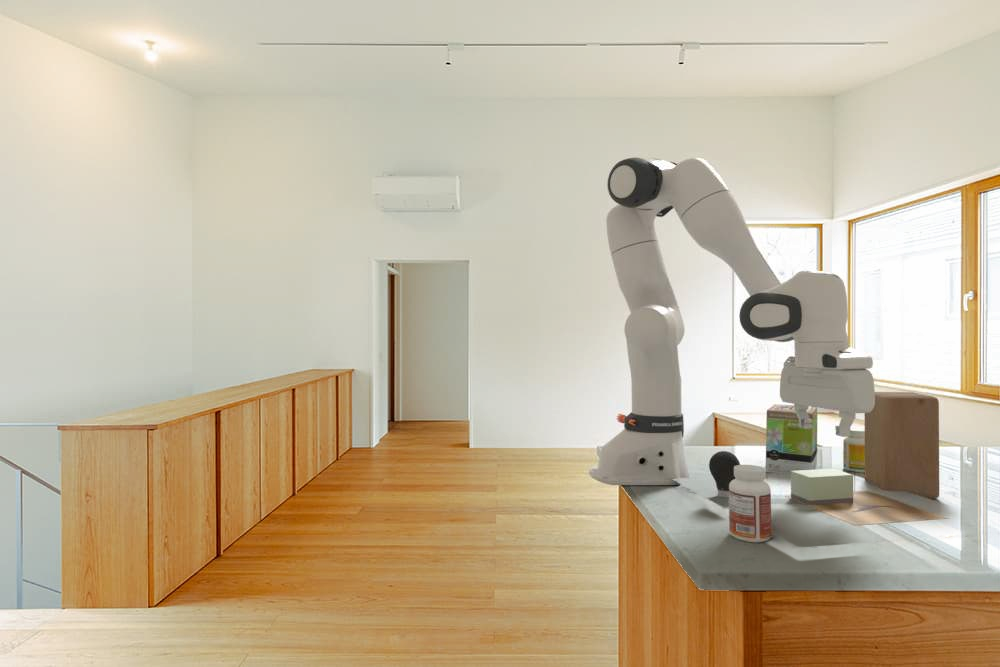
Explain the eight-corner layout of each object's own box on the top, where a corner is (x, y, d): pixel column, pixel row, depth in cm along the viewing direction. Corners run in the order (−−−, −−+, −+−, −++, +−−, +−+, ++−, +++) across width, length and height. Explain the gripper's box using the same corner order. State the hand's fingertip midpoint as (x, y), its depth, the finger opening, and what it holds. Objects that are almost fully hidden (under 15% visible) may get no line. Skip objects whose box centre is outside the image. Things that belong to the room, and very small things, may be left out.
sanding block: (809, 505, 104) (809, 477, 104) (790, 497, 109) (790, 470, 109) (853, 502, 105) (853, 474, 105) (833, 494, 110) (832, 468, 110)
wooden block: (941, 500, 111) (941, 397, 111) (884, 498, 113) (883, 396, 113) (915, 487, 121) (915, 391, 121) (863, 484, 123) (862, 391, 123)
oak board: (855, 534, 93) (854, 525, 93) (785, 503, 110) (785, 495, 110) (949, 527, 96) (949, 518, 96) (867, 498, 113) (867, 490, 113)
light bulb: (737, 509, 106) (737, 455, 106) (706, 505, 109) (706, 452, 109) (743, 502, 111) (742, 450, 111) (712, 497, 114) (712, 447, 114)
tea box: (813, 478, 128) (813, 412, 128) (764, 473, 134) (764, 409, 134) (818, 465, 141) (817, 405, 141) (773, 460, 146) (772, 402, 146)
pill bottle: (760, 530, 95) (760, 463, 95) (778, 543, 89) (778, 472, 89) (723, 530, 95) (722, 463, 95) (738, 543, 89) (738, 472, 89)
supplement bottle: (838, 468, 138) (837, 428, 138) (856, 466, 139) (856, 427, 139) (856, 473, 133) (856, 431, 133) (876, 472, 134) (875, 430, 134)
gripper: (770, 356, 117) (772, 424, 116) (848, 359, 96) (850, 442, 96) (798, 355, 118) (800, 423, 118) (880, 358, 98) (883, 440, 97)
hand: (823, 432), depth 107 cm, fingers open, 8 cm apart
